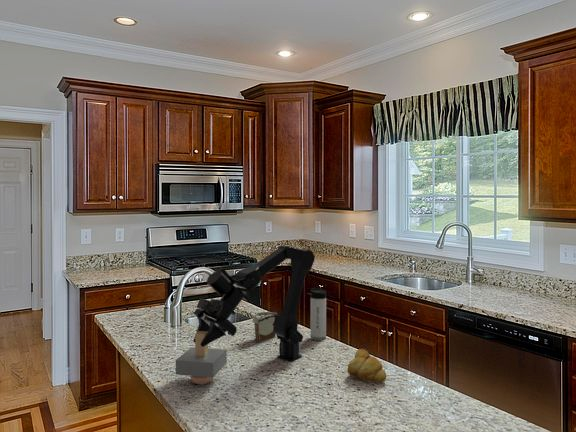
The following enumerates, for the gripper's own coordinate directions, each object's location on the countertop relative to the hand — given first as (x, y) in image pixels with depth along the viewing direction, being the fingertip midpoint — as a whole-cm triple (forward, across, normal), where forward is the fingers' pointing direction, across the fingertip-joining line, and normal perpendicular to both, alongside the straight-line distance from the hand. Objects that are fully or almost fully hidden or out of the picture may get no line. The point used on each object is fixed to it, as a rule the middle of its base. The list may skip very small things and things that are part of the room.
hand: (197, 344), depth 145 cm
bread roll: (-22, +30, +40) cm, 55 cm away
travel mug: (-33, -10, +51) cm, 62 cm away
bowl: (+8, 0, +10) cm, 12 cm away
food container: (-20, -24, +38) cm, 49 cm away
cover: (+5, 0, +7) cm, 8 cm away
